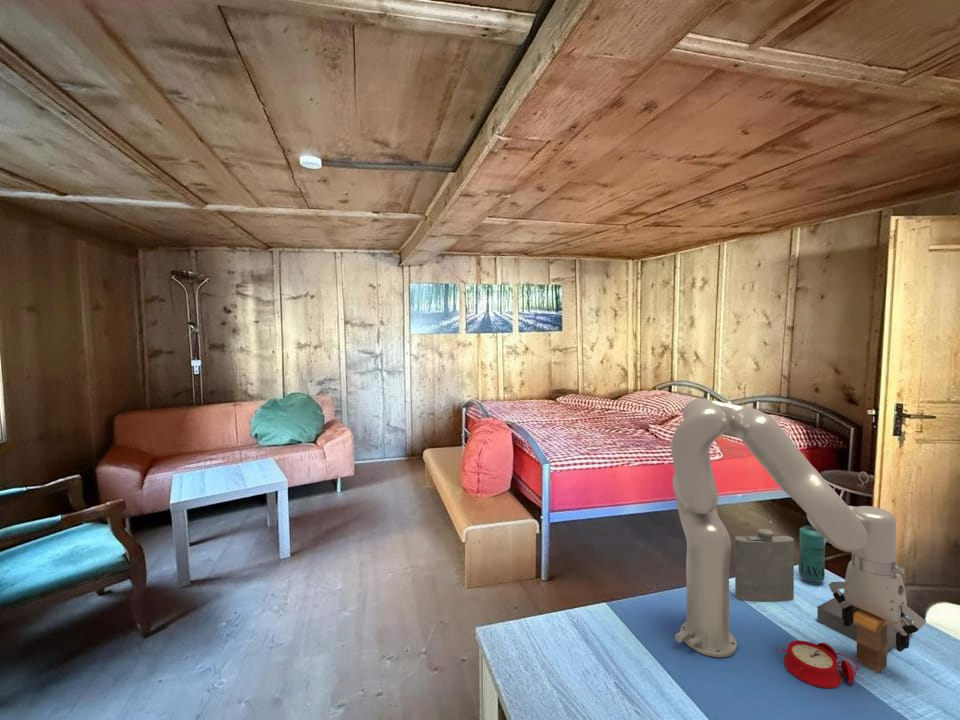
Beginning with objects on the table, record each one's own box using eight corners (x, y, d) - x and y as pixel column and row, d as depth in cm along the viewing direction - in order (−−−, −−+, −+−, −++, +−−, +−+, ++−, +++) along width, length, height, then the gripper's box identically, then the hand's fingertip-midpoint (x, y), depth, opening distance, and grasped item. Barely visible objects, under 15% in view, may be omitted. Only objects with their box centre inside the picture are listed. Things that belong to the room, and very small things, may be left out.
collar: (884, 654, 104) (884, 638, 104) (817, 621, 116) (817, 606, 116) (912, 635, 110) (912, 619, 110) (845, 605, 123) (845, 591, 122)
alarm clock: (768, 640, 105) (830, 625, 105) (774, 665, 105) (836, 650, 105) (800, 674, 95) (868, 657, 94) (806, 701, 95) (875, 684, 95)
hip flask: (789, 593, 129) (789, 527, 128) (798, 602, 125) (798, 533, 124) (733, 594, 130) (732, 527, 128) (740, 602, 125) (740, 534, 124)
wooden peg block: (874, 675, 98) (875, 623, 97) (852, 663, 101) (853, 613, 101) (890, 664, 101) (890, 613, 100) (868, 653, 105) (869, 604, 104)
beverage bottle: (793, 578, 137) (793, 514, 136) (808, 573, 139) (809, 511, 138) (814, 589, 131) (815, 523, 129) (830, 584, 132) (831, 519, 131)
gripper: (932, 576, 94) (933, 653, 95) (837, 543, 109) (838, 610, 110) (916, 586, 90) (916, 666, 91) (820, 551, 106) (821, 620, 107)
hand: (874, 636), depth 101 cm, fingers open, 9 cm apart
